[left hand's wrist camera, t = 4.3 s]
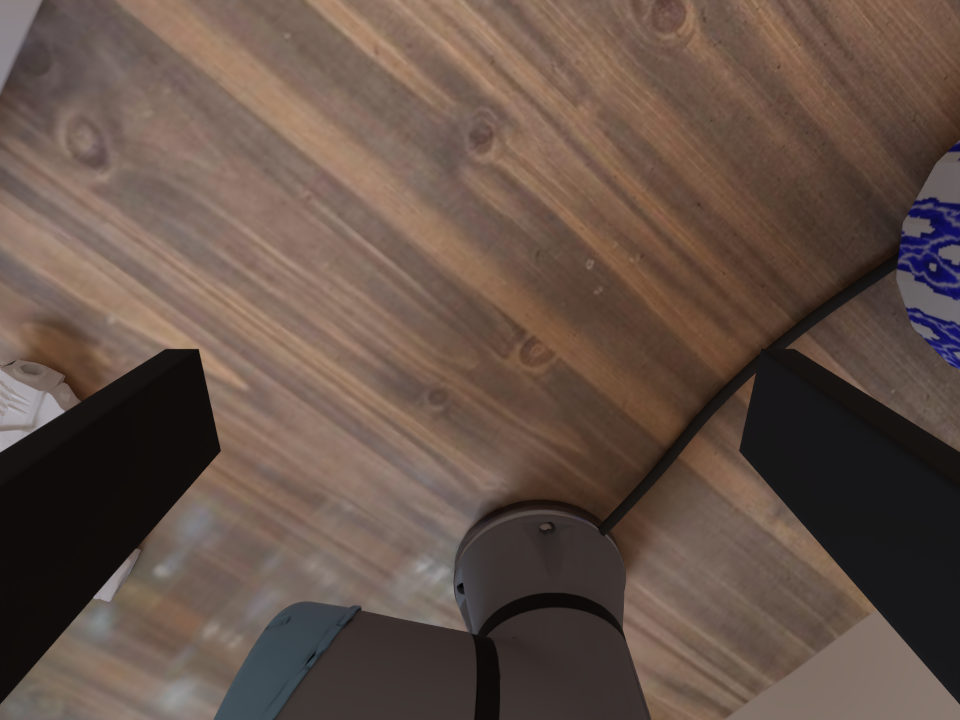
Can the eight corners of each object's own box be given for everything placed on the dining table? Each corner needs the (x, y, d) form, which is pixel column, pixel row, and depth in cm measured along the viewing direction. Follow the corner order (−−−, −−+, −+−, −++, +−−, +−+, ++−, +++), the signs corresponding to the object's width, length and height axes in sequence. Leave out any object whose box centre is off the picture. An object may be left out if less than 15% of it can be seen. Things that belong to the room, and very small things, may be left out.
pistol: (184, 460, 40) (-29, 360, 36) (95, 625, 45) (-97, 554, 42) (206, 435, 43) (13, 342, 39) (120, 592, 49) (-55, 523, 45)
